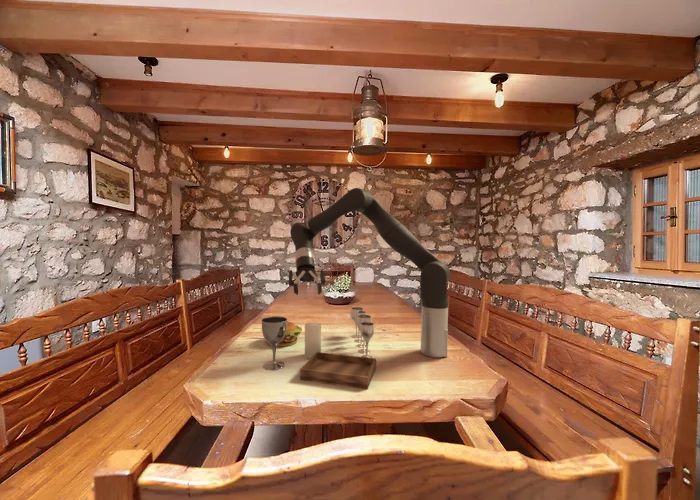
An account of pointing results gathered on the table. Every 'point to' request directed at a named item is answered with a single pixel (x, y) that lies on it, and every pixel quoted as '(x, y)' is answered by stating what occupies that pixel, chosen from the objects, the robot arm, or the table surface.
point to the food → (290, 335)
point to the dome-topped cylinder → (312, 339)
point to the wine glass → (274, 337)
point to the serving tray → (339, 370)
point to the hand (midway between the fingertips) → (308, 293)
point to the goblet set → (362, 329)
